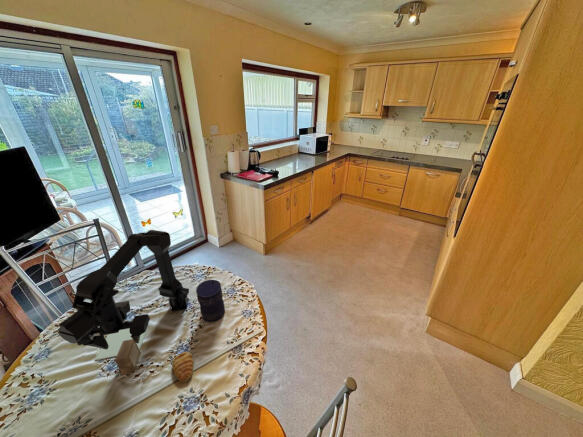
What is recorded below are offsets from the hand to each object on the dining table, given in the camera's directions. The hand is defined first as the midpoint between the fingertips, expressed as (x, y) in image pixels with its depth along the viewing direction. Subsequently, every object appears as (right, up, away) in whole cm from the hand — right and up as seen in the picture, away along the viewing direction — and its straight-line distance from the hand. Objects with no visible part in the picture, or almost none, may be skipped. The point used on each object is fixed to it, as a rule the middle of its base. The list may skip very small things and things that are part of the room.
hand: (123, 345), depth 78 cm
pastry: (+19, -10, +4) cm, 22 cm away
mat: (-8, -5, +12) cm, 15 cm away
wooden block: (0, -9, +5) cm, 10 cm away
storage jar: (+22, +1, +24) cm, 33 cm away
